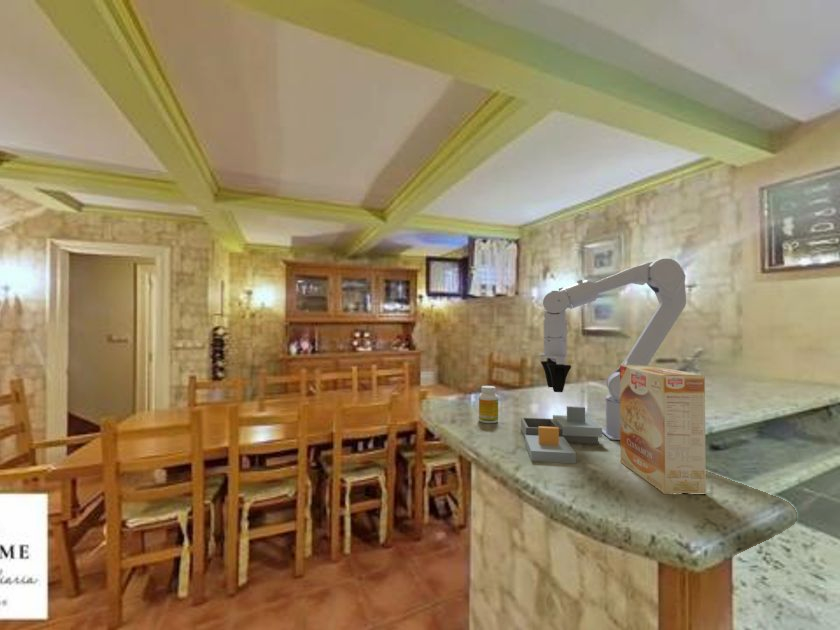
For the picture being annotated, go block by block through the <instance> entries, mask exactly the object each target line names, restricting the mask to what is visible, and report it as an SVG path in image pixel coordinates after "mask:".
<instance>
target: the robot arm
mask: <svg viewBox="0 0 840 630" xmlns="http://www.w3.org/2000/svg"><path fill="white" fill-rule="evenodd" d="M651 264H652V265H651ZM686 278H687V276H686V274H685V271H684V270H683V268H682V267H681V265H680V263H679V262H678V261H676V260H674V259H672V258H667V257H666V258H661V259H658V260H656V261H655V262H654V263H653V261H650V262H646V263H642V264H640V265H636V266H633V267H631V268H628V269H625V270H622V271H620V272H618V273H616V274H615V273H614V274H613V275H610V276H608V277H604V278H602V279H600V280H598V281H591V280H589V279H585V280H583V279H578V280H577V281H576V283H575V284H571V285H569V286H566V287H564V288H563V287H558V290H551V291H550V292H548V293H547V294H546V295H545V296H544V298H543V299H542V305H543V306H542V307H543V308H544V313H543V317H544V319H543V353H539V354H538V357H540V358H546V359H545V360H541V361H540V364H541V365H542V368H543V371H544V373H545V379H546V385H547V387H548V388H552V390H553V393H563V392H564V389H565V383H566V379H567V377H568V374H569V372H570V370H571V368H572V365H571V364H566V359H568V354H567V353H568V351H567V350H568V348H567V345H568V344H567V343H568V340H567V339H568V337H567V333H568V332H567V330H568V329H567V325H568V324H567V318H566V310H567V309H570V310H572V309H576V308H578V307H581V306H584V305H586V304H589V303H592V302H596V300H597V298H598V296H600V294H602V293H606V292H609V291H612V290H615V289H617V288H618V289H619V288H621V287H624V286H627V285H631V284H634V285H640V286H644V285H646V284H647V286H648V287H649V288H650V289H651V290H652V291H653V292H654V293H655V296H656V298H657V301H658V302H659V304H658V306H657V307H656V310H655V311H654V313H653V314H652V316H651V318H650V319H649V321H648V323H647V324H646V325H645V327H644V328H643V330H642V332H641V333H640V335H639V336H638V338H637V339H636V341H635V343H634V345H633V346H632V348H631V349H630V351H629V353H628V354H627V355H626V357H625V359H624V360H623V361H622V363H620V365H649V364H650V363H651V361H652V359H653V357H654V356H655V355H656V353H657V351H658V349H659V348H660V346H661V345H662V343H663V341H664V340H665V339H666V337H667V335H668V334H669V332H670V331H671V329H672V327H673V326H674V324H675V323H676V321H677V320H678V318H679V317H680V315H681V314H682V313H683V310H684V309H685V307H686V305H687V295H686V284H685V283H686ZM620 365H619V367H618V368H617V369H615V370H614V371H613V372H611V373H610V374H609V375H608V376H607V378H606V386H607V389H608V392H609V393H608V394H607V395H605V428H602V435H605V436H606V438H608V439H609V440H610V441H611V440H613V441H620Z"/></svg>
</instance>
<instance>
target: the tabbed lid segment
mask: <svg viewBox="0 0 840 630" xmlns="http://www.w3.org/2000/svg"><path fill="white" fill-rule="evenodd" d="M524 446H525V447H526V451H527V453H528V455H529V458H530V461H531V462H543V463H562V464H577V453H576V451H575V450H574V449H573V447H572V446H571V445H570V444H569V443H568V442H567V441H566V439H565V438H564V437H559V428H558V427H544V426H538V436H536V435H525V438H524Z"/></svg>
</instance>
